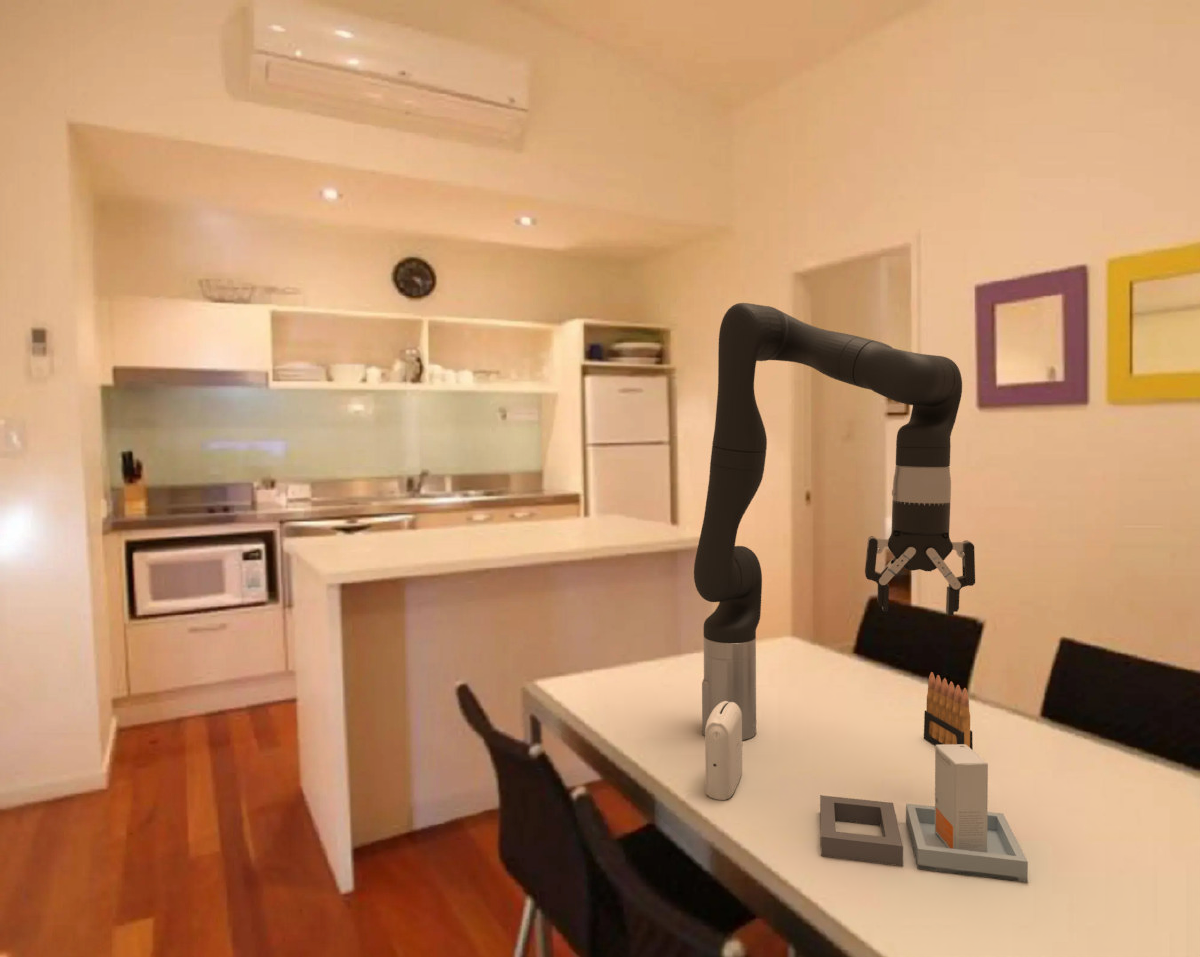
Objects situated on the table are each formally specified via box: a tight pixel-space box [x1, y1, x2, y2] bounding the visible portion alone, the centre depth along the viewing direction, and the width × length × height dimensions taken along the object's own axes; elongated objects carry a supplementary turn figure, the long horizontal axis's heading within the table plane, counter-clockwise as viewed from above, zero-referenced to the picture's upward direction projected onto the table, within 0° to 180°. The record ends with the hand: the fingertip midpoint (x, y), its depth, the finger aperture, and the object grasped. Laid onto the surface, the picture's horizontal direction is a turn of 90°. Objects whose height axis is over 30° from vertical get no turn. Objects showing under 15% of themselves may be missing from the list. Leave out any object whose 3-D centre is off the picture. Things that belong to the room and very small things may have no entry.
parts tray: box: [905, 803, 1029, 883], centre depth 98 cm, size 12×12×2 cm
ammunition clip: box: [923, 671, 974, 751], centre depth 128 cm, size 11×2×12 cm, turn 10°
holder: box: [819, 794, 904, 867], centre depth 101 cm, size 10×12×2 cm
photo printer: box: [704, 701, 743, 801], centre depth 117 cm, size 10×4×12 cm, turn 158°
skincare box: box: [934, 744, 989, 853], centre depth 98 cm, size 6×4×12 cm
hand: (917, 612), depth 109 cm, fingers open, 8 cm apart
